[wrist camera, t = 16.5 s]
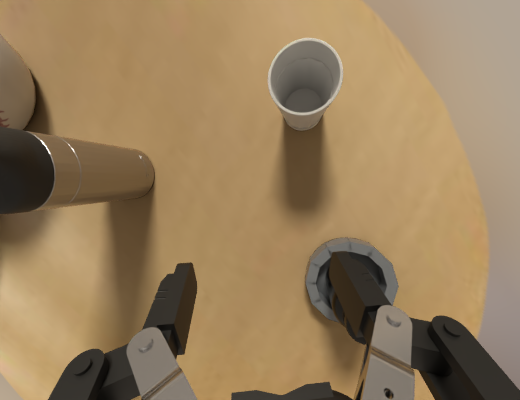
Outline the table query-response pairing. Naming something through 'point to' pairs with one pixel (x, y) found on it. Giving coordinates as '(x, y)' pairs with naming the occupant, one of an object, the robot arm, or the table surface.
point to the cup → (305, 81)
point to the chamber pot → (15, 89)
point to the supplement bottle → (340, 310)
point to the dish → (357, 250)
